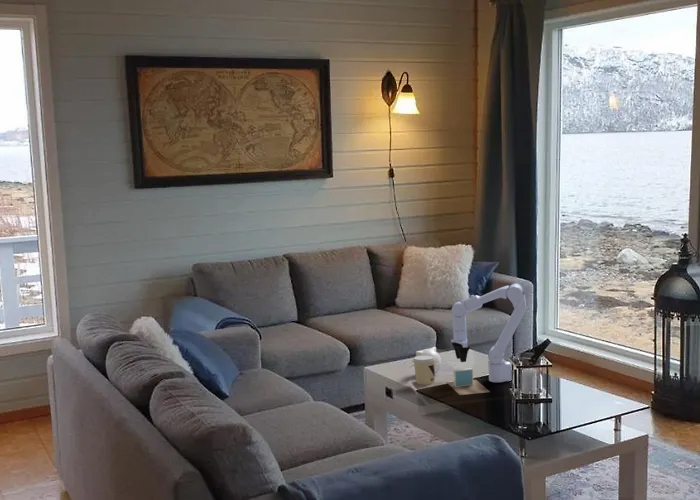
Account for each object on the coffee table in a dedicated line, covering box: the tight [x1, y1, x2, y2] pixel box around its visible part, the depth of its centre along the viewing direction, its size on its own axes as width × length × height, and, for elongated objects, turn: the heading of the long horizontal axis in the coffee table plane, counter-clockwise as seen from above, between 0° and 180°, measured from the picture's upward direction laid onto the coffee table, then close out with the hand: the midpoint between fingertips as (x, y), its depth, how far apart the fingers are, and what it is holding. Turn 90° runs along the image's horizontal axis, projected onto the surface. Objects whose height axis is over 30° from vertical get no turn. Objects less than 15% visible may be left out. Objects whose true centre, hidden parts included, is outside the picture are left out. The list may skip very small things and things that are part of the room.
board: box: [446, 379, 491, 396], centre depth 335 cm, size 13×20×1 cm, turn 8°
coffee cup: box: [413, 355, 436, 385], centre depth 346 cm, size 9×9×12 cm
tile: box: [452, 367, 474, 387], centre depth 337 cm, size 8×2×7 cm, turn 98°
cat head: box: [409, 346, 442, 375], centre depth 360 cm, size 15×13×12 cm
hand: (461, 360), depth 346 cm, fingers open, 6 cm apart
